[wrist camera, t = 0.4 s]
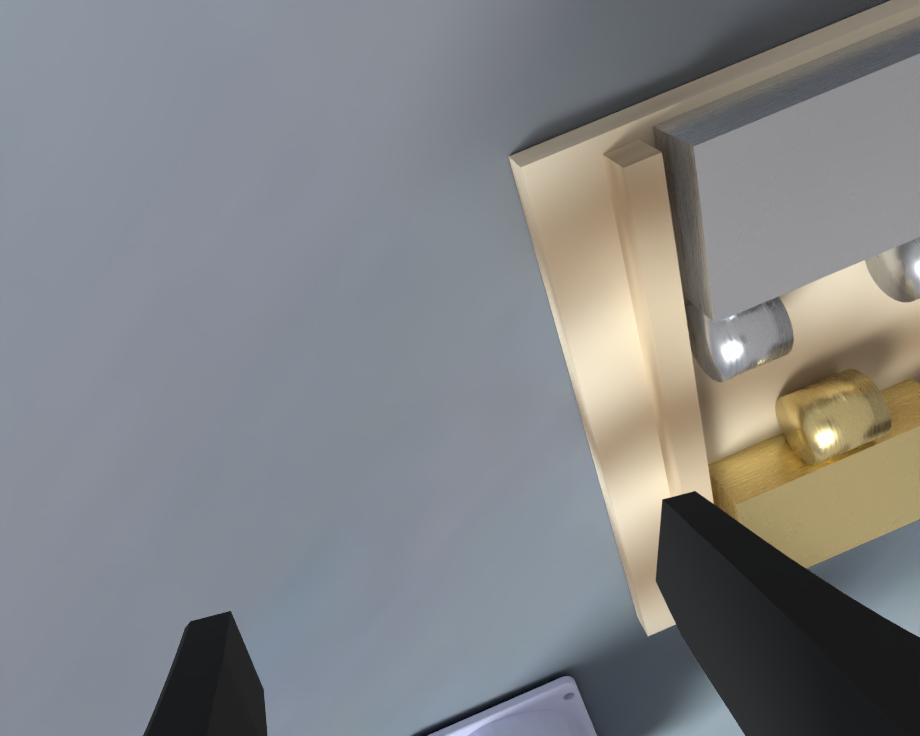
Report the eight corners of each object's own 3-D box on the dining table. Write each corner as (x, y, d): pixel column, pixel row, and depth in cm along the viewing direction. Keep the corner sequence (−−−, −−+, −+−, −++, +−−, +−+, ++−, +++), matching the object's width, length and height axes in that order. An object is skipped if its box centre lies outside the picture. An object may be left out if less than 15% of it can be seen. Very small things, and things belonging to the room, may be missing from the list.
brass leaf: (902, 474, 28) (952, 516, 26) (717, 554, 28) (753, 602, 26) (915, 323, 24) (975, 359, 22) (696, 416, 23) (737, 461, 21)
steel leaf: (920, 257, 22) (985, 289, 20) (687, 355, 22) (730, 398, 20) (940, 7, 18) (1025, 17, 16) (652, 125, 18) (702, 151, 16)
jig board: (954, 479, 31) (998, 514, 29) (637, 617, 30) (661, 661, 28) (1030, -57, 19) (1114, -55, 17) (508, 156, 18) (536, 181, 16)
